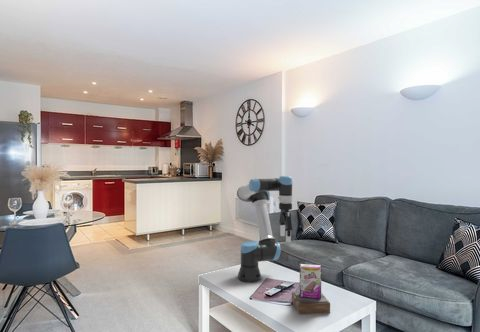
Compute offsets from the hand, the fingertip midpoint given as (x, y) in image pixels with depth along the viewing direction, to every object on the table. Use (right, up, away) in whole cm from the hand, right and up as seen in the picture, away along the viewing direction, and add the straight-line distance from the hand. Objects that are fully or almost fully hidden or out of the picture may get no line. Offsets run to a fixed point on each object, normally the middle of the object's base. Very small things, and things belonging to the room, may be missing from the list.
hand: (285, 238), depth 174 cm
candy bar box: (+11, -27, -17) cm, 33 cm away
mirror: (+11, -32, -17) cm, 38 cm away
